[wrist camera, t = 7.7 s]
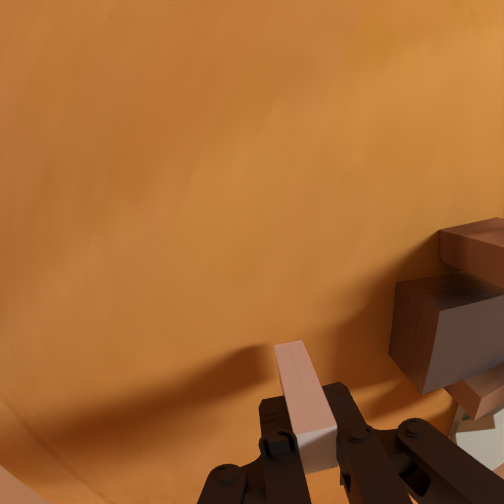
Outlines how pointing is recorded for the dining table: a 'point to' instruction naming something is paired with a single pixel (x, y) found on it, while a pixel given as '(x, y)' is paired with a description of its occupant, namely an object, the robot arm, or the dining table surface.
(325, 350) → the dining table surface
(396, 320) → the steel bar
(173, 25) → the dining table surface
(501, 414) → the grey flat angled part
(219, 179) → the dining table surface
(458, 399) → the slot block
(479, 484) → the robot arm
